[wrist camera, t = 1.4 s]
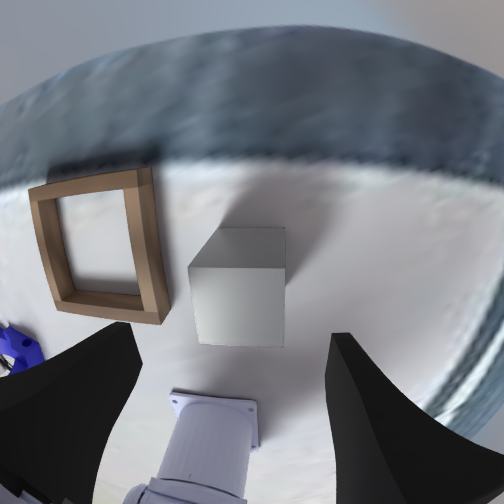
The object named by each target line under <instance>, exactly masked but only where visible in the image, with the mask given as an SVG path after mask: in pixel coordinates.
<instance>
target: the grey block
mask: <svg viewBox="0 0 504 504" xmlns="http://www.w3.org/2000/svg"><path fill="white" fill-rule="evenodd" d="M188 275H189V282H190V290H191V297H192V303H193V310H194V316H195V322H196V329H197V334H198V340H199V343H201V344H214V345H230V346H249V347H283V340H284V306H285V227H225V228H217V230H216V231H215V232H214V233H213V235H212V236H211V237H210V239H209V240H208V241H207V242H206V244H205V245H204V246H203V248H202V249H201V250H200V251H199V253H198V254H197V255H196V257H195V258H194V259H193V261H192V262H191V263H190V265H189V266H188Z"/></svg>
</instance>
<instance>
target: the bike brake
mask: <svg viewBox="0 0 504 504" xmlns="http://www.w3.org/2000/svg"><path fill="white" fill-rule="evenodd" d="M0 363H1V364H2V365H1V364H0V375H1V374H3V373H4V372H5V371H6V370H7V369H8V370H9V371H11V370H12V368H10V367H9V366H8V365H7V364H6V362H5V361H4V359H3V358H2V356H1V355H0Z"/></svg>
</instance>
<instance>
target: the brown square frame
mask: <svg viewBox="0 0 504 504" xmlns="http://www.w3.org/2000/svg"><path fill="white" fill-rule="evenodd" d="M119 189H123V191H124V200H125V208H126V215H127V223H128V229H129V236H130V242H131V248H132V253H133V259H134V264H135V269H136V275H137V279H138V284H139V289H140V293H141V296H137V295H124V294H112V293H101V292H91V291H81V290H75V288H74V285H73V282H72V278H71V274H70V270H69V267H68V263H67V259H66V254H65V250H64V246H63V241H62V236H61V231H60V226H59V221H58V215H57V209H56V202H55V198H59V197H66V196H72V195H79V194H86V193H94V192H102V191H110V190H119ZM28 193H29V200H30V207H31V213H32V218H33V224H34V229H35V234H36V238H37V243H38V247H39V251H40V255H41V259H42V263H43V267H44V271H45V274H46V277H47V281H48V284H49V287H50V291H51V294H52V297H53V300H54V303H55V306H56V308H57V311H63V312H68V313H74V314H80V315H86V316H92V317H99V318H106V319H113V320H120V321H128V322H136V323H145V324H155V325H161V324H162V323H163V321H164V320H165V318H166V316H167V315H168V313H169V312H170V310H171V308H170V303H169V298H168V292H167V287H166V281H165V275H164V269H163V262H162V256H161V249H160V242H159V235H158V227H157V219H156V210H155V201H154V191H153V180H152V168H151V167H146V168H138V169H130V170H123V171H116V172H109V173H103V174H97V175H91V176H85V177H79V178H74V179H69V180H64V181H59V182H54V183H49V184H45V185H41V186H38V187H34V188H31V189H28Z"/></svg>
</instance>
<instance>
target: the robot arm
mask: <svg viewBox="0 0 504 504" xmlns="http://www.w3.org/2000/svg"><path fill="white" fill-rule="evenodd" d="M142 365H143V363H142V360H141V357H140V354H139V351H138V347H137V344H136V341H135V338H134V335H133V331H132V328H131V325H130V323H125V322H118V321H117V322H115V323H112V324H110V325H109V326H107V327H105V328H103V329H101V330H100V331H98V332H96V333H95V334H93V335H91V336H90V337H88V338H86V339H84V340H83V341H81V342H79V343H78V344H76V345H74V346H73V347H71V348H69V349H67V350H65V351H64V352H62V353H60V354H58V355H56V356H54V357H53V358H51V359H49V360H47V361H44V362H42V363H40V364H38V365H36V366H33V367H31V368H28V369H26V370H23V371H20V372H17V373H14V374H11V375H8V376H4V377H0V504H50V503H51V504H92V499H93V492H94V487H95V482H96V477H97V472H98V469H99V465H100V462H101V458H102V455H103V452H104V449H105V446H106V443H107V440H108V437H109V435H110V433H111V431H112V428H113V426H114V424H115V422H116V421H117V419H118V417H119V415H120V413H121V411H122V409H123V407H124V406H125V404H126V402H127V400H128V398H129V396H130V394H131V392H132V390H133V388H134V386H135V384H136V382H137V379H138V376H139V374H140V371H141V368H142ZM325 390H326V403H327V409H328V414H329V420H330V426H331V432H332V438H333V444H334V450H335V459H336V504H487V503H489V502H490V501H491V500H493V499H494V498H496V497H497V496H498V495H500V494H501V493H502V492H504V455H503V454H500V453H498V452H495V451H492V450H490V449H487V448H485V447H482V446H480V445H477V444H475V443H473V442H471V441H469V440H468V439H466V438H464V437H462V436H460V435H458V434H456V433H455V432H453V431H451V430H450V429H448V428H447V427H445V426H444V425H442V424H441V423H439V422H438V421H436V420H435V419H433V418H432V417H430V416H429V415H428V414H426V413H425V412H424V411H423V410H421V409H420V408H419V407H418V406H417V405H415V404H414V403H413V402H412V401H411V400H409V399H408V398H407V397H406V396H405V395H404V394H403V393H402V392H401V391H400V390H399V389H398V388H397V387H396V386H395V385H394V384H393V383H392V382H391V381H390V380H389V379H388V378H387V377H386V376H385V375H384V373H383V372H382V371H381V370H380V369H379V368H378V367H377V366H376V364H375V363H374V362H373V361H372V360H371V358H370V357H369V356H368V355H367V354H366V352H365V351H364V350H363V349H362V347H361V346H360V345H359V344H358V342H357V341H356V340H355V338H354V337H353V336H352V335H351V334H350V333H332V335H331V342H330V348H329V354H328V360H327V366H326V372H325ZM169 399H170V401H171V404H172V407H173V410H174V412H175V415H176V418H177V422H176V425H175V428H174V430H173V433H172V436H171V439H170V441H169V444H168V447H167V450H166V452H165V455H164V458H163V461H162V464H161V466H160V469H159V472H158V475H157V477H156V478H153V477H151V480H150V482H149V485H146V484H139V485H138V486H136V487H133V488H132V489H131V490H130V491H129V493H128V494H127V496H126V498H125V500H124V502H123V504H247V500H246V499H243V497H244V491H245V484H246V477H247V470H248V463H249V456H250V452H251V453H256V452H258V450H259V446H258V420H257V403H256V402H255V401H252V400H238V399H226V398H215V397H206V396H197V395H190V394H182V393H176V392H171V393H170V395H169Z"/></svg>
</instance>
